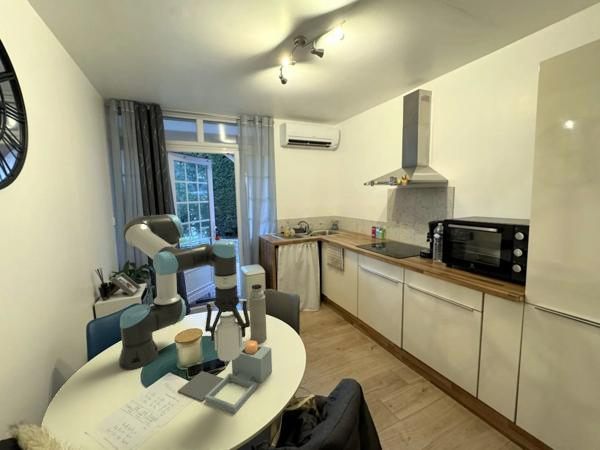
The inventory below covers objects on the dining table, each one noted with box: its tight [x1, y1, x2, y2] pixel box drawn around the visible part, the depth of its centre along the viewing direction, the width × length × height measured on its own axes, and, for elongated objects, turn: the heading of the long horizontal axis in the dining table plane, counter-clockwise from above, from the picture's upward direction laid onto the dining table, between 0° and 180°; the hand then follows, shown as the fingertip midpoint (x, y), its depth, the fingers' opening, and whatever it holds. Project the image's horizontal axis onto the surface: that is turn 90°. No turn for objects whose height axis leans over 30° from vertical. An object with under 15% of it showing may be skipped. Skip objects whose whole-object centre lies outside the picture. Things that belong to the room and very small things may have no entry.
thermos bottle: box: [248, 284, 268, 344], centre depth 132 cm, size 8×8×28 cm
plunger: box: [245, 340, 258, 355], centre depth 107 cm, size 5×5×7 cm
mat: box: [177, 370, 225, 402], centre depth 101 cm, size 12×12×1 cm
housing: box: [204, 340, 273, 414], centre depth 100 cm, size 14×24×10 cm, turn 156°
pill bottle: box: [216, 312, 240, 362], centre depth 94 cm, size 8×8×15 cm
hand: (229, 346), depth 94 cm, fingers closed on pill bottle, 8 cm apart
